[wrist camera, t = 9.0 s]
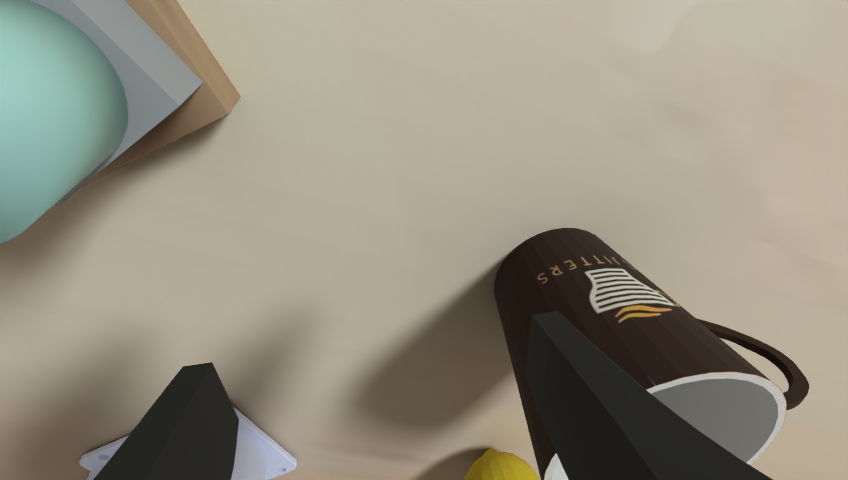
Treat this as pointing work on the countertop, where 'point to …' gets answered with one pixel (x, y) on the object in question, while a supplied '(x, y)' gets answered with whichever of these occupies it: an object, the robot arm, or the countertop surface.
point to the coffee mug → (640, 343)
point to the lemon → (500, 467)
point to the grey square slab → (131, 65)
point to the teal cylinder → (51, 111)
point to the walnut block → (216, 91)
